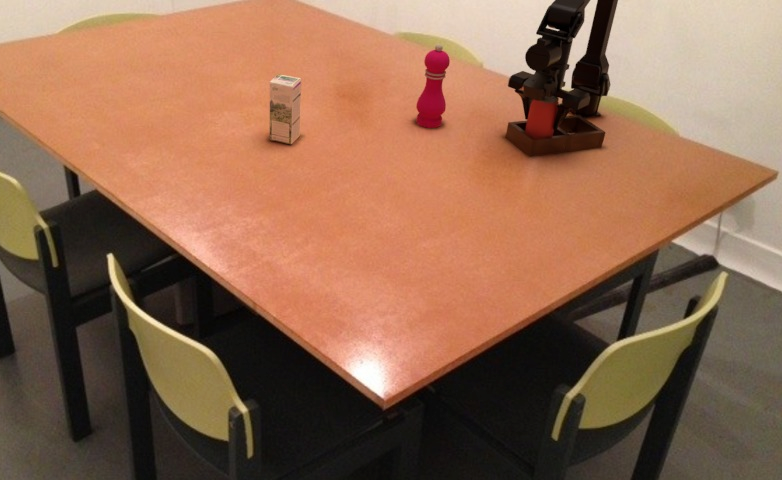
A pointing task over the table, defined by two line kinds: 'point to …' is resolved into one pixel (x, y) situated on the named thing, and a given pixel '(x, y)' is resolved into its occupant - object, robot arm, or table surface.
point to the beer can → (542, 117)
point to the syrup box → (285, 108)
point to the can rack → (557, 137)
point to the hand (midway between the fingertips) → (540, 124)
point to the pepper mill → (433, 89)
